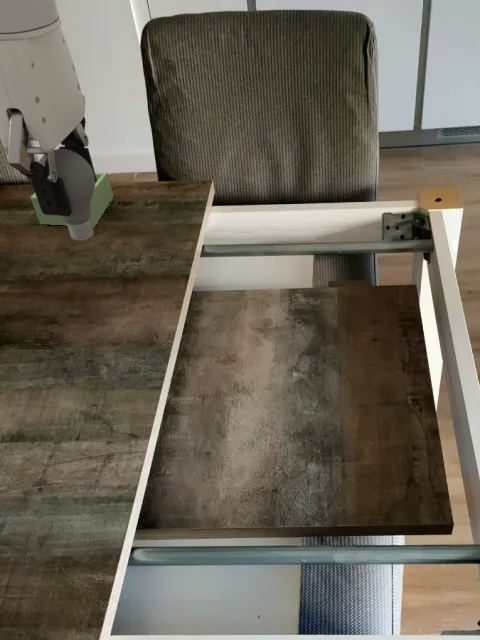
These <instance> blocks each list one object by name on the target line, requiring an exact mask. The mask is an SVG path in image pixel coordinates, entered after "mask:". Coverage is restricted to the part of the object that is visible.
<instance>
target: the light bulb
mask: <svg viewBox="0 0 480 640" xmlns="http://www.w3.org/2000/svg"><path fill="white" fill-rule="evenodd" d="M54 153H55V162H56V170H57V178H62V179H63V183H64V186H65V189H66V192H67V195H68V199H69V202H70V205H71V208H72V213H71V215H70V216H61V217H62V219H63V220H64V221H65V222H66V224H67V226H68V227H67V229H68V232H69V236H70V238H71V239H72V240H75V241H87V240H88V239H90V238H92V237H93V236H94V234H95V232H94V228H92V224H91V221H90V215H91V208H90V203H91V199H92V196H93V192H94V189H95V177H94V173H93V170H92V168H91V166H90V165H89V164H88V162H87V161H86V160H85V159H84V158H83V157H82V156H80V155H79V154H77V153H75V152H73V151H71V150H67V149H58V148H57V149H56V148H55V149H54ZM38 162H39V163H40V164H42V165H43V166H45V162H44V155H43V156H42V157H41V158H40V159H39V161H38Z"/></svg>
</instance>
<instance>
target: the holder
mask: <svg viewBox="0 0 480 640" xmlns="http://www.w3.org/2000/svg"><path fill="white" fill-rule="evenodd" d="M95 175H96V178H97V182H96V183H95V189H94V192H93V196H92V199H91V203H90V208H91V215H90V221H91V224H92V228H93V229H95V228H96V226H97V225H98V224H99V222H100V221H99V219H100V218H101V216H102V214H103V213H104V211H105V209H106V208H107V205H108V204H109V202H110V201H111V199H112V198H113V196H114V193H113V189H112V185H111V182H110V178H109V175H108V173H107V172H95ZM30 200H31V204H32V206H33V209H34V211H35V214H36V216H37V220H38V221H39V224H40V225H41V224H50V225H65V226H67V224H66V222H65V221H64V220H63V219H62V217H61V216H58V215H45V214H44V213H42V211H41V208H40V205H39V202H38V199H37V197H36V194H35V192H34V193H33V194H32V195H31V196H30ZM101 219H102V218H101ZM101 219H100V220H101ZM98 221H99V222H98ZM96 224H97V225H96ZM95 225H96V226H95ZM65 226H64V227H65Z"/></svg>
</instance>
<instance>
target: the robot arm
mask: <svg viewBox="0 0 480 640" xmlns="http://www.w3.org/2000/svg"><path fill="white" fill-rule="evenodd" d="M61 26H62V21H61V17H60V14H59V11H58V6H57V2H56V0H0V141H1V144H2V146H3V148H4V149H5V150H6V151H7V157H6V160H7V163H8V165H9V166H10V167H12V168H14V169H16V171H19V173H20V174H21V175H23V176H24V177H25V179H26V180H27V181H29V182H31V185H32V188H33V191H34V193H35V194H36V197H37V199H38V202H39V205H40V208H41V211H42V213H44V214H45V215H58V216H70V215H71V213H72V208H71V205H70V202H69V199H68V195H67V192H66V189H65V186H64V183H63V179H62V178H57V170H56V162H55V153H54V150H56V148H57V147H58V146H59V145H61V146H59V147H58V148H57V149H67V150H71V151H73V152H75V153H77V154H79V155H80V156H82V157H83V158H84V159H85V160H86V161H87V162H88V164H89V165H90V166H91V168H92V170H93V173H94V177H95V183H96V182H97V178H96V175H95V173H96V172H95V168H94V164H93V160H92V157H91V154H90V150H89V147H88V146H89V144H90V143H89V136H88V134H87V132H86V123H87V121H86V117H85V112H86V98H85V97H86V96H84V94H83V93H82V88H81V86H80V81H79V78H78V75H77V71H76V67H75V63H74V62H73V58H72V55H71V52H70V49H69V47H68V43H67V40H66V38H65V35H64V33H63V30H62V27H61ZM32 141H34V142H38V144H39V146H32ZM35 155H43V156H44V162H45V166H43V165H42V164H40V163H39V161H37V160H36V158H35Z"/></svg>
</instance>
